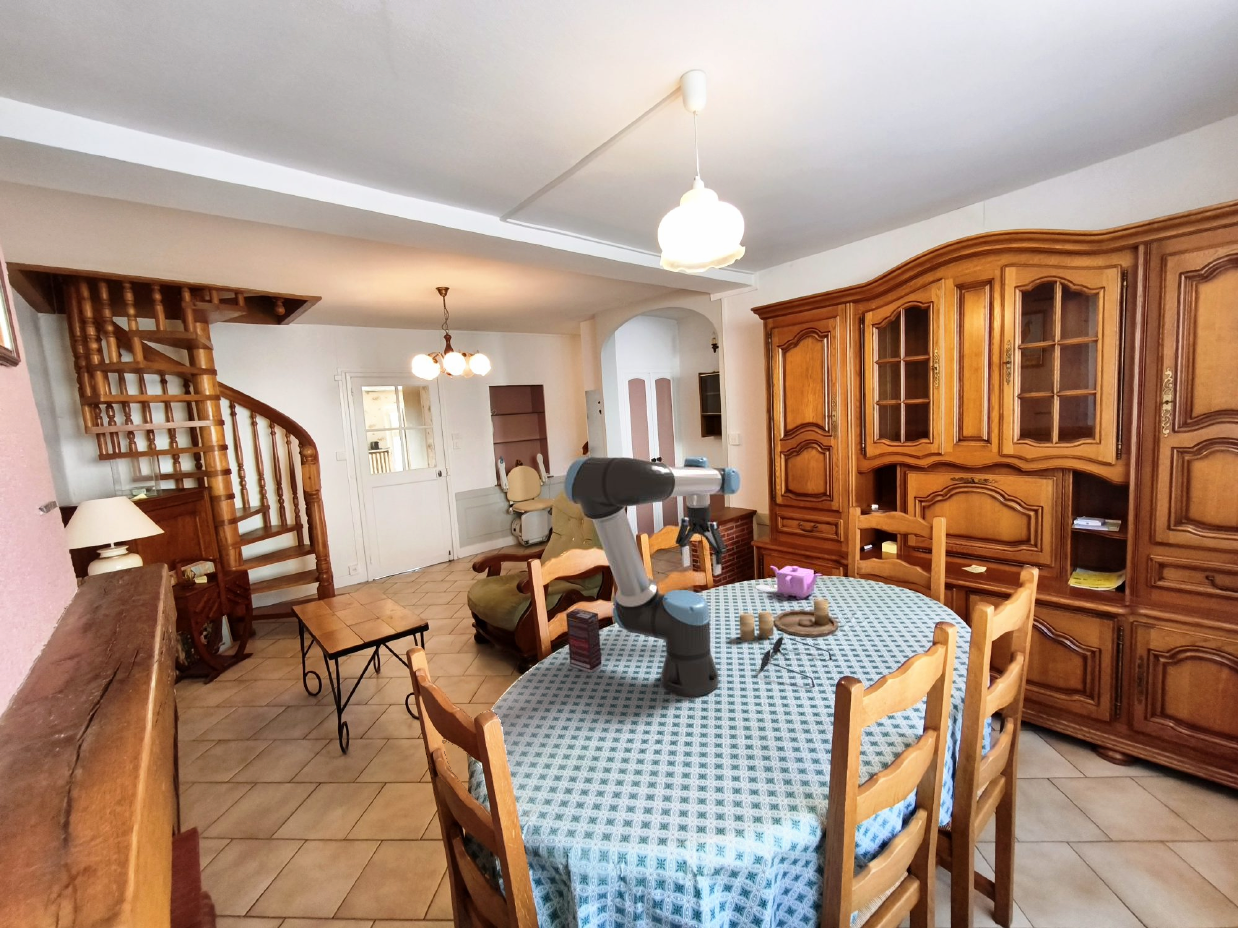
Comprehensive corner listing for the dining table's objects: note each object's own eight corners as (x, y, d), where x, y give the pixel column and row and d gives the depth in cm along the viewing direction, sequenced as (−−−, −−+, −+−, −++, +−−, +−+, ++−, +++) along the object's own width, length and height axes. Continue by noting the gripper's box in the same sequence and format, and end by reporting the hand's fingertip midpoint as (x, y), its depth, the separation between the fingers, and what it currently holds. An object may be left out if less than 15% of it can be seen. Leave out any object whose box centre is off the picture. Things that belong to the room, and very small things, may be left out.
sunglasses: (780, 649, 156) (781, 633, 155) (831, 666, 148) (833, 650, 147) (758, 674, 142) (760, 657, 142) (814, 695, 134) (816, 677, 133)
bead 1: (757, 640, 162) (756, 618, 162) (743, 641, 162) (742, 619, 161) (752, 634, 167) (751, 612, 166) (738, 635, 166) (737, 614, 166)
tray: (850, 635, 161) (849, 629, 161) (789, 642, 159) (789, 635, 159) (820, 612, 180) (820, 607, 180) (766, 618, 178) (765, 612, 178)
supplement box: (602, 666, 152) (599, 612, 150) (591, 673, 148) (587, 618, 146) (580, 659, 157) (576, 607, 156) (569, 665, 153) (565, 612, 152)
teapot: (780, 602, 191) (779, 573, 190) (770, 590, 205) (769, 562, 204) (822, 600, 191) (822, 571, 190) (810, 588, 204) (809, 560, 203)
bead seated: (831, 624, 168) (831, 603, 167) (818, 625, 168) (817, 604, 167) (824, 619, 172) (824, 598, 172) (811, 620, 172) (811, 599, 171)
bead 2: (775, 638, 163) (775, 616, 162) (762, 639, 162) (761, 617, 162) (770, 632, 167) (769, 610, 167) (756, 633, 167) (756, 612, 166)
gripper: (736, 507, 162) (739, 574, 164) (679, 499, 182) (682, 560, 184) (720, 511, 158) (723, 580, 160) (663, 503, 177) (666, 565, 179)
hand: (701, 569), depth 172 cm, fingers open, 13 cm apart
